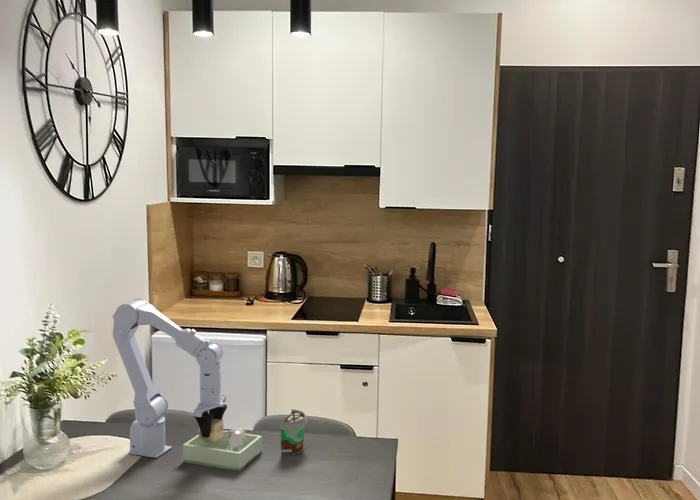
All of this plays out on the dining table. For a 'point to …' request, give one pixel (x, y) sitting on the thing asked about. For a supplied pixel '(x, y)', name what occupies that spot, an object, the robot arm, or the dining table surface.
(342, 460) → the dining table surface
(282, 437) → the food container
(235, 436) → the cylinder
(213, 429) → the cube
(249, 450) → the tote
